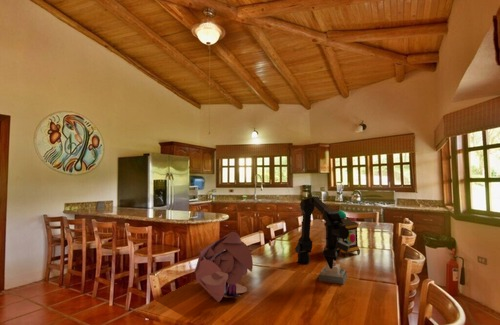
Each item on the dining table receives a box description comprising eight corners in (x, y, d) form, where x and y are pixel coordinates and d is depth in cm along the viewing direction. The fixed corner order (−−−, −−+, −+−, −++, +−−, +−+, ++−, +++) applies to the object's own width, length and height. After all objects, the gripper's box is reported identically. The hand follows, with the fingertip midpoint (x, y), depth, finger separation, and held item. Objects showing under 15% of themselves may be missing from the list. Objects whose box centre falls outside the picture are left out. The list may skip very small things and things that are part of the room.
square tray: (318, 280, 140) (318, 271, 141) (323, 273, 151) (323, 265, 151) (343, 284, 135) (343, 275, 135) (346, 277, 146) (346, 268, 146)
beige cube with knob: (325, 273, 142) (325, 261, 142) (328, 270, 147) (327, 259, 148) (337, 275, 139) (337, 263, 140) (339, 272, 145) (339, 260, 145)
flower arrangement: (263, 306, 123) (276, 242, 127) (224, 313, 107) (240, 239, 111) (215, 279, 148) (226, 226, 152) (177, 281, 131) (191, 221, 135)
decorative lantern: (363, 254, 191) (361, 210, 193) (345, 259, 180) (343, 212, 182) (339, 248, 208) (338, 208, 210) (321, 252, 196) (320, 210, 199)
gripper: (345, 240, 133) (346, 273, 131) (350, 233, 149) (351, 263, 148) (322, 238, 138) (322, 270, 137) (329, 232, 154) (330, 260, 153)
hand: (332, 266), depth 143 cm, fingers open, 9 cm apart
